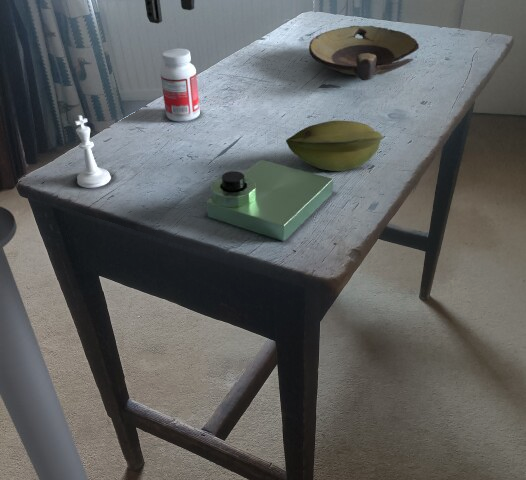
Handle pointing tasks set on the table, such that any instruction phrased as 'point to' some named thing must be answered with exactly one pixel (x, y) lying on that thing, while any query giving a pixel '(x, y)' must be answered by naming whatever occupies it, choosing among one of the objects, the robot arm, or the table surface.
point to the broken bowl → (362, 50)
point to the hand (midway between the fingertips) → (172, 15)
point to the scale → (270, 199)
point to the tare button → (233, 181)
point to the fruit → (335, 145)
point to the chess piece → (89, 160)
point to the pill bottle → (179, 85)
